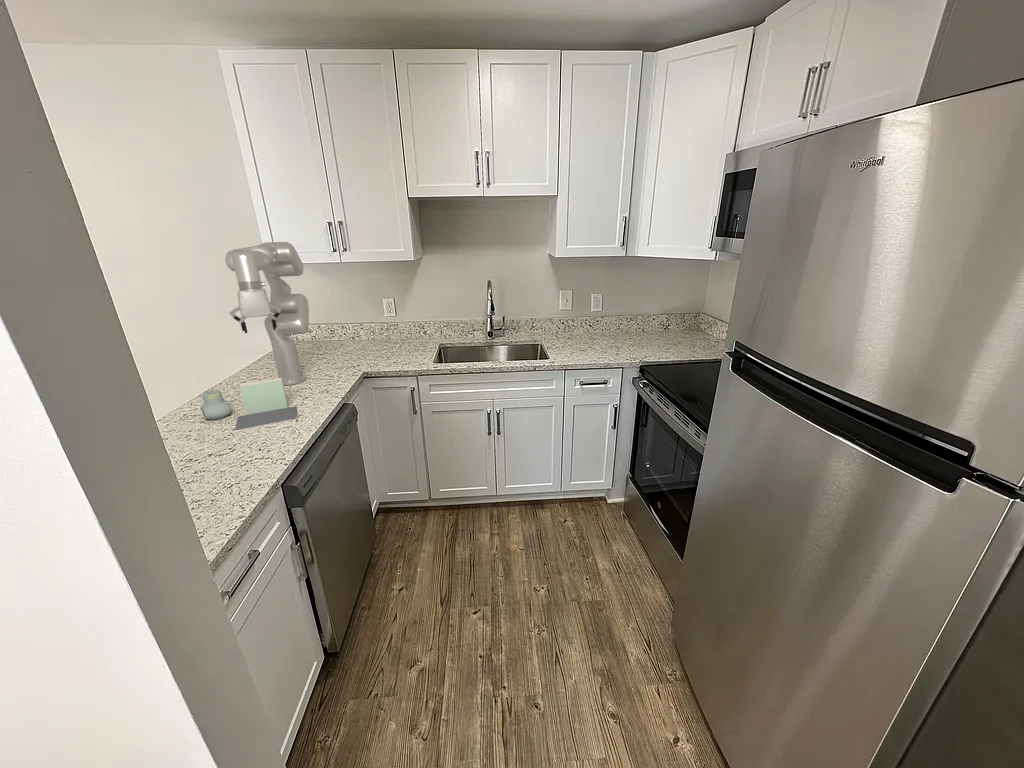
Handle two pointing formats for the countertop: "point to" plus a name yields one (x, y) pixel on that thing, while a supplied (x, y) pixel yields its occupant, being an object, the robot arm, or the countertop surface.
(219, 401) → the air freshener
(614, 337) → the countertop surface
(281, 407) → the tile
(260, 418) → the mat
